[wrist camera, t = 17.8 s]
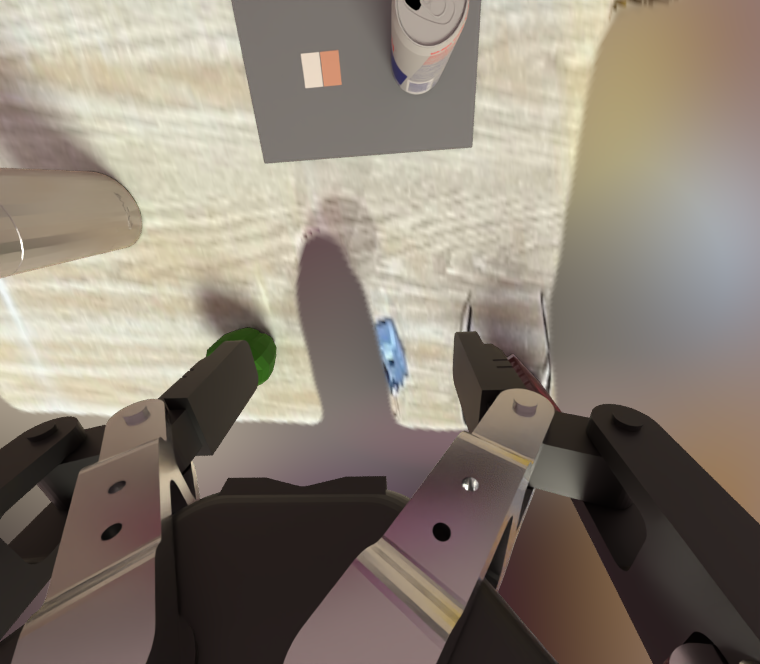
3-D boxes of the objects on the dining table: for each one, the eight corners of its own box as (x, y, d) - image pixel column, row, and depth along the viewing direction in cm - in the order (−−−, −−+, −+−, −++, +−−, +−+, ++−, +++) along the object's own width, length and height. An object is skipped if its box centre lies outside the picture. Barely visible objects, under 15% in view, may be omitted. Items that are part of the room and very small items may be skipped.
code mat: (265, 163, 35) (264, 163, 35) (226, -30, 28) (224, -32, 28) (471, 147, 34) (472, 147, 34) (484, -62, 27) (485, -63, 27)
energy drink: (406, 15, 29) (415, -82, 18) (453, 46, 30) (488, -29, 19) (382, 79, 31) (378, 25, 21) (427, 106, 32) (445, 67, 22)
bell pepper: (288, 366, 48) (264, 408, 39) (238, 366, 49) (203, 407, 40) (279, 318, 44) (250, 352, 36) (225, 318, 45) (183, 352, 36)
